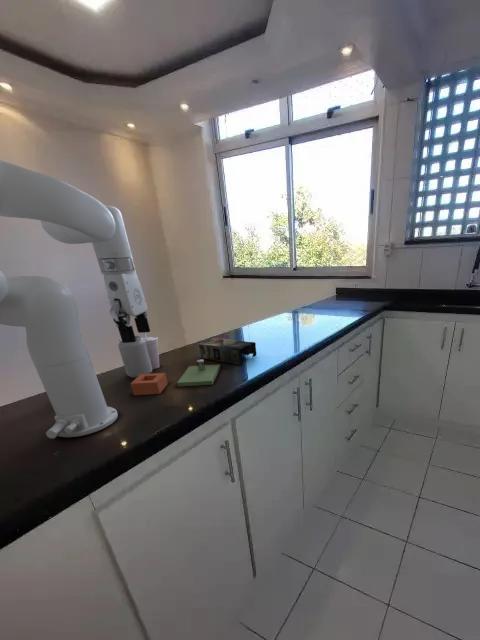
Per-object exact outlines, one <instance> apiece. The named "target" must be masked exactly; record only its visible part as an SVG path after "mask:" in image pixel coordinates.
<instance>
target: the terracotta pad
mask: <svg viewBox="0 0 480 640" xmlns="http://www.w3.org/2000/svg"><path fill="white" fill-rule="evenodd" d="M167 378H168V377H167V375H166V372H156V373H155V372H154V373H150V374H141V375H139V376H138V377H137V378H134V380H133V381H132V382H130V387H131V390H132V394H133V396H145V395H160V394H161V393H162V392H163V390H164V389H166V387H167V386H168V384H169V383H168V382H169V381H168V379H167Z"/></svg>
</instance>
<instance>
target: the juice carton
mask: <svg viewBox="0 0 480 640" xmlns="http://www.w3.org/2000/svg"><path fill="white" fill-rule="evenodd" d="M256 345H257V343H256V342H255V341H246V340H245V341H244V340H236V339H226V338H221V337H212V338H210V339H209V338H208V339H206V340H204V341H202V342H200V343H197V348H198V349H197V350H198V354H199V355H198V356H199V359H200V360H201V359H202V360H210V361H214V362H215V361H216V362H220V363H225V364H231V365H237V366H242V365H243V356H247V357H248V356H249V355H252V358H255V357H257V348H256Z"/></svg>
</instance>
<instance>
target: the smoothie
mask: <svg viewBox="0 0 480 640" xmlns="http://www.w3.org/2000/svg"><path fill="white" fill-rule="evenodd" d="M143 336H144V337H142V339H143V340H144V341H145V343H146V347H147V351H148V354H149V358H150V362H151V366H152V370H156V369H159V368H160V355H159V354H160V353H159V338H158V336H157V337H156V336H147V332H144V333H143Z"/></svg>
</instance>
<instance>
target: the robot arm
mask: <svg viewBox="0 0 480 640" xmlns="http://www.w3.org/2000/svg"><path fill="white" fill-rule="evenodd" d="M0 217H6V218H17V219H28V220H35V221H40V224H41V226H42V229H43V230H44V232H45V233H46V234H47V235H48V236H50V237H51V238H52V239H53V240H56V241H57V242H60V243H63V244H68V245H75V244H76V245H78V244H79V245H80V244H81V245H82V244H92V248H93V251H94V253H95V257H96V259H97V264H98V267H99V271H100V273H101V275H102V276H103V280H104V286H105V289H106V294H107V298H108V301H109V305H110V309H109V314H110V315H111V318H113V319H112V320H113V322H114V323H115V326H116V328H117V329H118V332H119V336H120V339H122V342H123V343H129V342H136V338H135V336H136V334H135V331H134V327H133V325H131V317H133V319H134V320H133V321H134V323H135V327H136V330H137V332H138V333H139V334H142V333H143V334H144V332H146V333H150V332H151V327H150V325H149V324H150V323H149V320H148V314H147V312H146V311H147V310H148V304H147V301H146V298H145V294H144V291H143V287H142V284H141V282H140V280H139V277H138V274H137V268H136V265H135V261H134V258H133V252H132V249H131V246H130V242H129V238H128V234H127V230H126V227H125V221H124V217H123V215H122V212H121V210H120V209H118V208H117V207H115V206H112V205H106V204H104V203H102V202H101V201H100V200H98V199H97V198H95V197H94V196H92V195H90V194H88V193H86V192H85V191H83V190H81V189H79V188H77V187H76V186H73V185H72V184H69V183H67V182H66V181H63V180H60V179H58V178H55V177H53V176H50V175H47V174H45V173H44V174H43V173H41V172H37V171H35V170H32V169H28V168H25V167H22V166H20V165H17V164H14V163H11V162H7V161H3V160H0ZM0 325H2V326H9V327H22V328H25V335H26V336H25V337H26V338H25V339H26V347H27V350H28V351H27V352H28V353H29V357H30V359H31V361H32V364H33V365H34V368H35V370H36V372H37V375H38V377H39V379H40V381H41V384H42V386H43V388H44V390H45V392H46V395H47V398H48V399H49V403H50V404H51V406H52V408H53V411H54V413H55V416H54V417H53V419H54V421H55V422H54V424H53V426H52V427H50V428H49V429H48V430H47V431H46V432H45V435H46V437H47V438H49V439H56V438H58V437H59V438H60V437H61V438H77V437H82V436H87V435H91V434H95V433H97V432H99V431H102V430H104V429H106V428H107V427H109V426H111V425H112V424H113V423H114V422H115V421H116V420H117V419H118V418H119V413H118V410H117V409H116V408H114V407H111V406H108V404H107V402H106V399H105V396H104V393H103V391H102V388H101V385H100V382H99V378H98V376H97V373H96V369H95V367H94V365H93V362H92V359H91V357H90V354H89V351H88V348H87V345H86V341H85V339H84V335H83V330H82V327H81V326H82V325H81V321H80V313H79V306H78V302H77V300H76V297H75V296H74V294H73V293H72V291H71V290H70V289H69V287H67V286H66V285H65V284H63V283H62V282H60V281H58V280H56V279H54V278H51V277H47V276H40V275H15V276H13V275H12V276H7V275H5V274H4V272H2V270H0Z"/></svg>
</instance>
